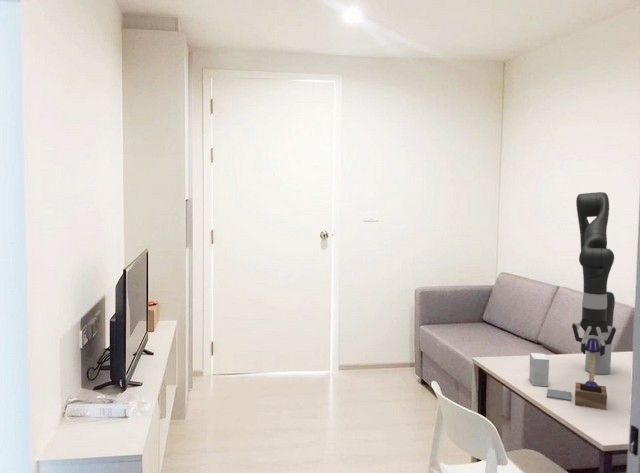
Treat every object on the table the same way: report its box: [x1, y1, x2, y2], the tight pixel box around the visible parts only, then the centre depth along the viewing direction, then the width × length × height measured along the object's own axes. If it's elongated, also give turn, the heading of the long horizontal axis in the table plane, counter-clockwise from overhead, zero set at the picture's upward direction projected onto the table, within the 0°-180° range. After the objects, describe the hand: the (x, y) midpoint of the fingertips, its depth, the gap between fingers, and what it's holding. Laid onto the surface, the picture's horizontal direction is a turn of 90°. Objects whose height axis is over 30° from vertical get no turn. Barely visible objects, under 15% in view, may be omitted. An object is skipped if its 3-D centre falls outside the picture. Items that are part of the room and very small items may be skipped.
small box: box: [528, 352, 550, 387], centre depth 208 cm, size 8×6×10 cm
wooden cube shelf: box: [574, 381, 608, 411], centre depth 189 cm, size 10×10×5 cm
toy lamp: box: [584, 338, 600, 389], centre depth 188 cm, size 5×5×17 cm
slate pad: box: [546, 388, 572, 402], centre depth 195 cm, size 8×8×1 cm
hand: (592, 354), depth 188 cm, fingers closed on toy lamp, 4 cm apart
